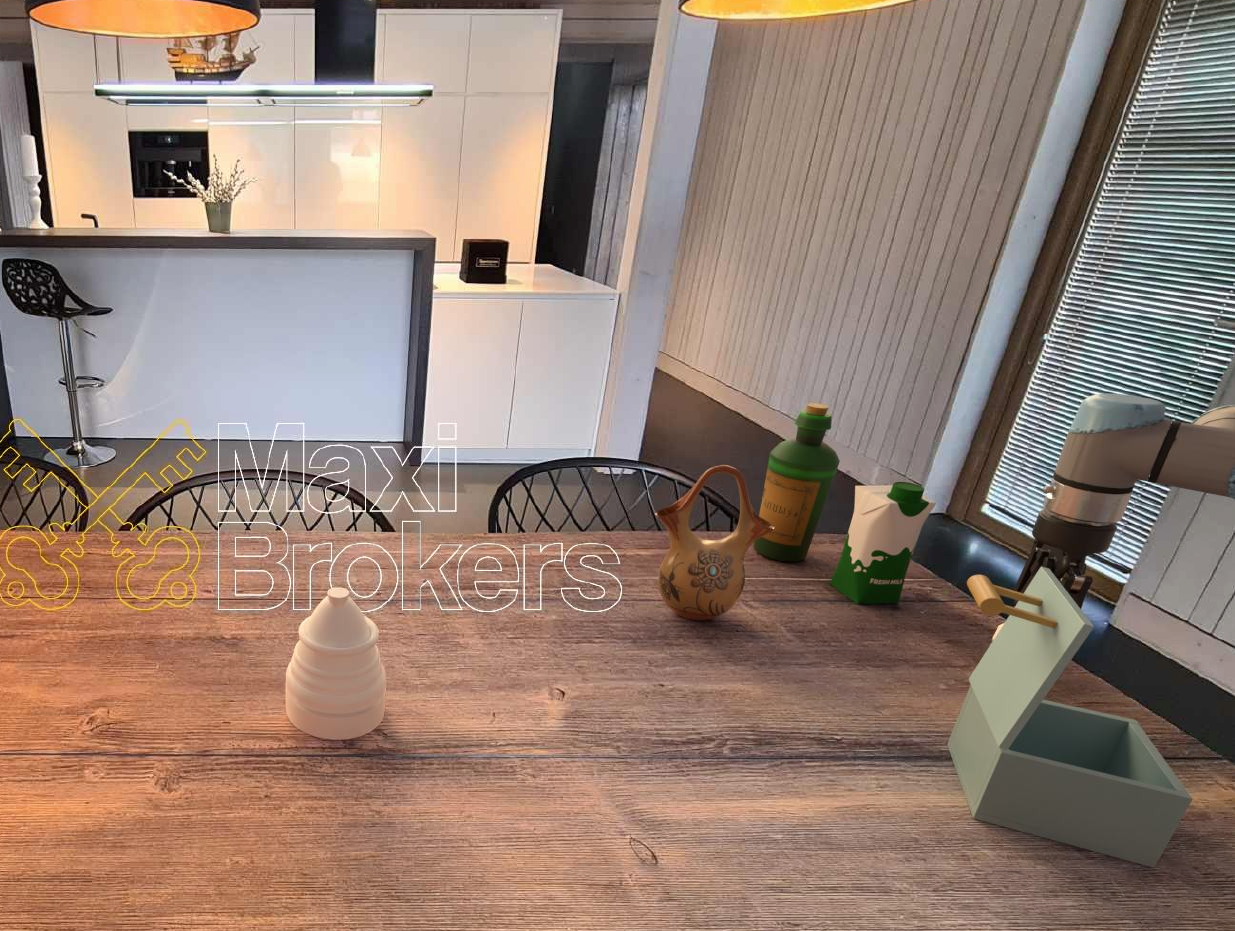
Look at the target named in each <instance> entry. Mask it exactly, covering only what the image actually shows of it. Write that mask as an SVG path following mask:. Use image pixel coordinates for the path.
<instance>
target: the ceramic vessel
mask: <svg viewBox="0 0 1235 931" xmlns="http://www.w3.org/2000/svg"><path fill="white" fill-rule="evenodd" d="M717 474H728V475H731V476H733V477H734V479H735V481H736V483H737V484H736V485H737V488H738V493H739V503H740V506H739V519H738V522H737V526H736V527H735V529H734V530H733V532H732V533H730V534H729V535H728V536H725V537H723V538H721V539H705V538H704V539H703V538H699V537H698V536H696V534H694V533H693V531H692V530H691V528H690V526H689V521H690V516H691V512H692V509H693V506H694V505H695V502H696V500H697V498H698V496H699V495H700V493H701V491H702V489H703V488H704V486H705V485H706V483H707V482H708V481H709V480H710V479H711V478H712V477H713V476H714V475H717ZM749 495H750V494H749V491H748V486H747V482H746V477H745V476H744V474H743V473H742V471H740V470H739V469H738V468H736V467H733V466H731V465H728V464H721V465H716V466H712V467H710V468H708V469H707V470H706V471H704V472H703V473H702V474H701V475H700V476H699V478H698V479H697V481H696V482H695V483H694V485H693V486H692V487H691V488H690V489H689V490H688V492H686V493H685V494H684V495H683V496H682V497H680V498H679V499H678V500H676V501H675V502H673V504H671V505H668V506H665V507H662V508H660V509H658V510H656V511H655V513H654V515H655V517H656V518H657V519H658V520H659V521H660V522H661V523H662V525H663V526H664V527H665V529H666V530H667V532H668V535H669V539H670V545H669V549H668V552H667V553H666V554H665V556H664V558H662V561H661V562H660V563H661V564H660V565H659V568H658V574H657V585H658V586H657V587H658V591H659V594H660V596H661V599H662V600H663V601H664V603H665V604H666V606H667V607H668V609H671V611H672V612H674V614H676V615H677V616H680V617H682V618H684V619H688V620H693V621H708V620H712V619H714V618H717V617H720V616H722V615H723V614H725V613H727V612H728V611H729V610H731V609H732V608H733V607H734V606H735V605H736V603H737V602H738V601H739V599H740V597H741V596H742V594H743V591H744V589H745V588H744V587H745V584H746V571H745V566H744V563H745V562H744V561H745V557H746V553H747V551H748V550H749V548H750V547H751V545H753V544H754V542H755V541H756V540H757V539H759V538H760V537H762V536H764V535H765V534H767V533H769V532H771V531H773V530H774V527H773V526H772V525H771V524H770V523H769V522H767V521H766V520H764V519H763V518H761V517H759V515H758V514H757V513H756V510H755V509H754V507H753V505H752V503H751V499H750V496H749Z"/></svg>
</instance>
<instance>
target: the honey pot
mask: <svg viewBox="0 0 1235 931" xmlns="http://www.w3.org/2000/svg"><path fill="white" fill-rule="evenodd" d="M326 595H327V596H325V597H324V598H323V599H322V600H321V601H320V603H318V605H317V606H316V607H315V609H314V610H313V611H312V613H311V615H310V616H307V617H306V618H305V619H304V620H303V621H302V622H301V623H300V625H299V627H298V629H297V630H298V631H297V632H298V638H299V640H298V642H297V643H296V644H295V647H294V649H293V654H292V656H291V659H290V662H289V663H288V665H287V668H286V672H285V711H286V712H285V714H286V716H287V718H288V720H289V721H290V722H289V723H291V724H292V725H293V726H294V727H295V728H296V729H298V730H300V731H301V732H303V733H305V734H307V735H309V736H312V737H315V738H319V739H324V740H331V741H338V740H339V741H342V740H350V739H356V738H360V737H362V736H365V735H367V734H369V733H371V732H373V731H374V730H375V729H376V728H378V727H379V726H380V725H381V723H382V721H383V720H384V718H385V711H386V699H387V698H386V697H387V679H388V678H387V674H386V670H385V666H384V665H383V662H382V659H381V655H380V654H381V653H380V649H379V647H378V646H377V645H376V644H377V643H378V641H379V638H380V631H379V627H378V626H377V624H376V623H375V622H374V621H373V620H372V619H370V618H369V617H367V616H366V615H364V614H363V612H362V611H361V609H360V607H359V606H358V605H357V604H356V602H355V601H354V599H352V598H351V597H350V591H349V590H348V589H347V588H344V587H341V586H340V587H339V586H336V587H331V588H329V589H328V590H327V593H326Z"/></svg>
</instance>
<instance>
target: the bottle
mask: <svg viewBox="0 0 1235 931" xmlns="http://www.w3.org/2000/svg"><path fill="white" fill-rule="evenodd" d="M829 408H830V406H829V405H826V404H823V403H815V402H810V403H807V404H806V409H801V411H800V412H799V414H798V416H797V418H796V420H795V422H794V425H796V426H797V429H796V434H795V435H796V436H795V437H791V438H787V439H786V440H784V441H780V443H778V444H777V446H775V447H774V448H773V449H772V450H771V451H770V453H769V457H768V463H767V468H766V475H765V479H764V480H765V481H764V485H763V486H764V488H763V491H762V497H761V502H760V509H759V514H758V516H759V517H761V518H763V519H764V520H766V521H767V522H769V523H770V524H771V525H772V526H773V527H774V530H773V531H771V532H769V533H767V534H765V535H764V536H762V537H760V538H759V539H757V540H756V541H755V542H753V548H754V550H755V551H756V552H757V553H758V554H760V555H762V556H764V557H765V558H768V559H770V560H773V561H778V562H783V563H785V562H786V563H794V562H800V561H804V560H805V559H806V558H807V555H808V553H809V551H810V547H811V544H812V541H813V538H814V536H815V532H816V530H817V527H818V525H819V522H820V519H821V516H822V513H823V510H824V508H825V505H826V502H827V499H828V496H829V493H830V490H831V487H832V485H833V482H834V480H835V476H836V474H837V471H838V468H839V465H840V463H841V460H840V458H839V456H838V454H837V452H836V450H834V449H833V448H832V447H831V446H829V444H827V443H826V442H825V441H823V440H824V438H825V436H826V432H827V431H829V430H832V422H833V421H832V420H833V419H832V418H833V414H831V413H830V412H828V411H829Z"/></svg>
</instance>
